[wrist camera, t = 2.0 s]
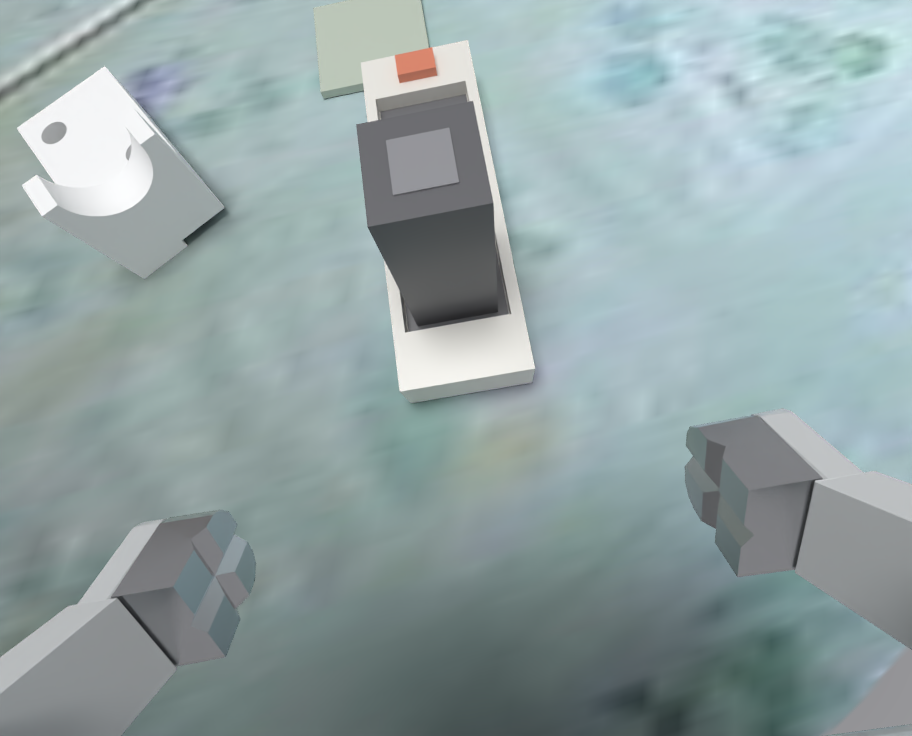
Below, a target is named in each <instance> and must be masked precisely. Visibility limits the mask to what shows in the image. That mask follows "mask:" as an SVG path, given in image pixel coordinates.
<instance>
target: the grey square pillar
mask: <svg viewBox="0 0 912 736" xmlns="http://www.w3.org/2000/svg"><path fill="white" fill-rule="evenodd" d="M356 126H357V135H358V144H359V153H360V162H361V171H362V180H363V189H364V198H365V207H366V216H367V225H368V228H369V230H370V232H371V234H372V236H373V238H374V240H375V242H376V244H377V246H378V248H379V250H380V252H381V254H382V256H383V258H384V260H385V262H386V264H387V266H388V268H389V270H390V272H391V274H392V276H393V278H394V280H395V282H396V284H397V286H398V288H399V290H400V292H401V294H402V296H403V298H404V300H405V302H406V304H407V306H408V308H409V310H410V312H411V314H412V316H413V318H414V320H415V322H416V324H417V326H423V325H429V324H435V323H440V322H446V321H451V320H457V319H463V318H468V317H474V316H480V315H485V314H491V313H496V312H498V296H497V273H496V250H495V227H494V204H493V198H492V193H491V188H490V183H489V178H488V173H487V168H486V163H485V158H484V153H483V148H482V143H481V138H480V133H479V128H478V123H477V118H476V113H475V108H474V103H473V101H469V102H465V103H460V104H455V105H450V106H445V107H440V108H435V109H430V110H425V111H420V112H415V113H411V114H406V115H401V116H396V117H391V118H386V119H381V120H376V121H371V122H366V123H362V124H357V125H356Z"/></svg>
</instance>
